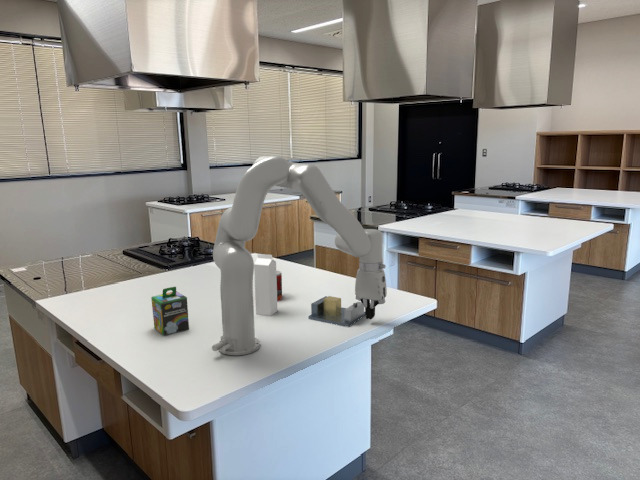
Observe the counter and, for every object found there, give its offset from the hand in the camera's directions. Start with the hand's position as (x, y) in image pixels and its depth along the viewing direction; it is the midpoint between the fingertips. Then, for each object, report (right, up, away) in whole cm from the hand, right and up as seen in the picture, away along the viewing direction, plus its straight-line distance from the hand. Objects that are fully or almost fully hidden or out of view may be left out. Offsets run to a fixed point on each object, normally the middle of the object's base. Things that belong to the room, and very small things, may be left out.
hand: (370, 317), depth 160 cm
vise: (-11, -1, +7) cm, 13 cm away
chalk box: (-67, -4, -3) cm, 68 cm away
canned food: (-36, +3, +28) cm, 46 cm away
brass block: (-13, 0, +8) cm, 15 cm away
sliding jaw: (-5, 0, +3) cm, 6 cm away
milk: (-37, 0, +12) cm, 39 cm away
